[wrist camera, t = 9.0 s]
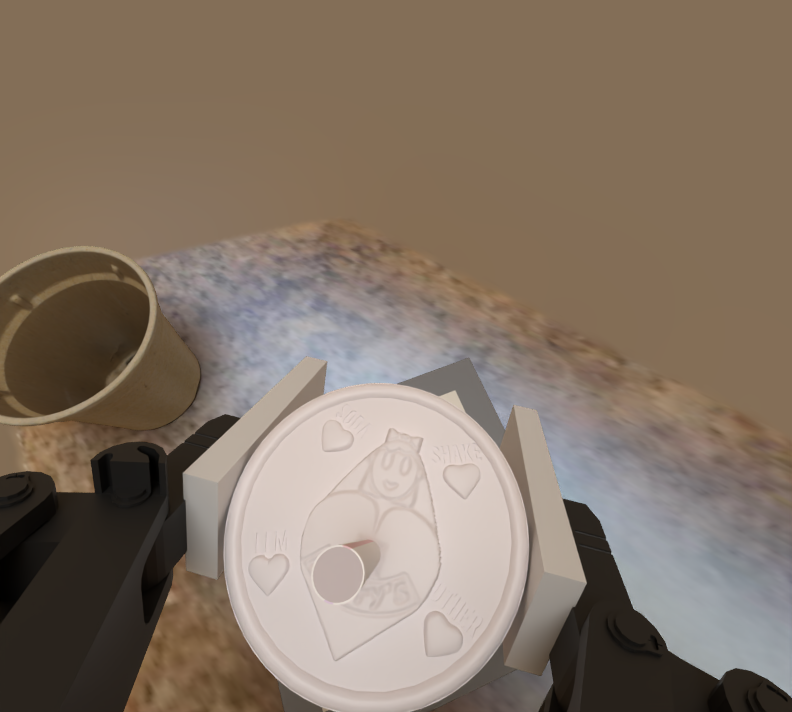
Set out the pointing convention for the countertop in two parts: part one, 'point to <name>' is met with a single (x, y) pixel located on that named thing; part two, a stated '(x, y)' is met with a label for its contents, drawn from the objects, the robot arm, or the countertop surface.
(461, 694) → the socket
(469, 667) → the smoothie
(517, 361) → the countertop surface
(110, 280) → the flower pot
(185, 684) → the countertop surface
